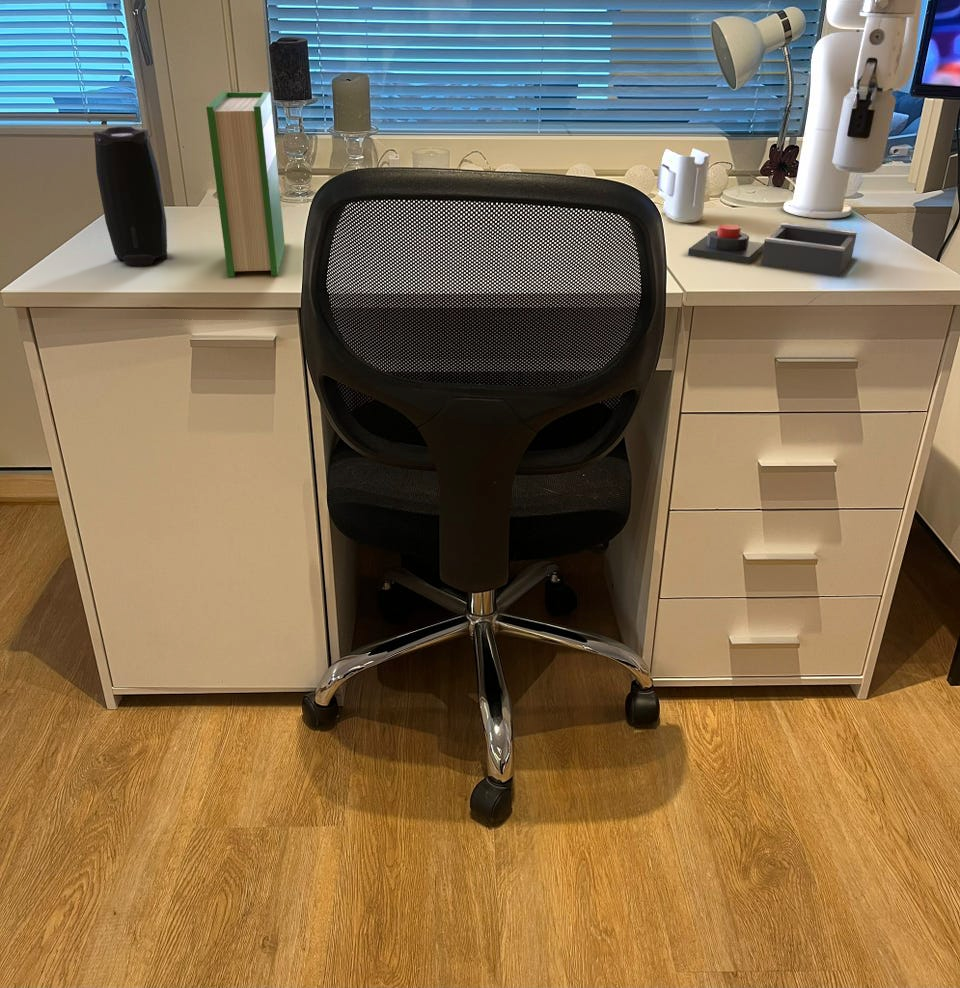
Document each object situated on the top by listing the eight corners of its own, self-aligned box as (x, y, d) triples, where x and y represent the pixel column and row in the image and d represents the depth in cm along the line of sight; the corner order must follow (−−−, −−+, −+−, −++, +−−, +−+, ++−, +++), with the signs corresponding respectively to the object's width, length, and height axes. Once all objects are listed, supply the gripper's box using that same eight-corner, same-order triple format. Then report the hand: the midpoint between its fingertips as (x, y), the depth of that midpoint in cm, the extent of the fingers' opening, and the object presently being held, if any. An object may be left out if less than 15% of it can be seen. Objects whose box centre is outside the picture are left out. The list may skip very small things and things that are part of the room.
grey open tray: (778, 249, 158) (782, 222, 156) (851, 258, 153) (857, 231, 151) (760, 266, 149) (764, 238, 147) (838, 277, 144) (843, 248, 142)
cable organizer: (682, 210, 183) (690, 145, 177) (708, 225, 173) (717, 157, 167) (650, 211, 182) (657, 146, 176) (675, 226, 171) (682, 158, 166)
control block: (705, 242, 162) (707, 225, 160) (763, 250, 158) (766, 232, 156) (687, 255, 154) (689, 237, 153) (748, 264, 150) (750, 245, 149)
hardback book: (277, 275, 142) (260, 106, 130) (228, 276, 141) (206, 107, 130) (284, 245, 157) (270, 91, 146) (240, 246, 157) (221, 92, 145)
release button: (720, 233, 157) (721, 223, 156) (741, 236, 155) (743, 225, 154) (714, 238, 154) (715, 227, 153) (735, 241, 152) (737, 230, 152)
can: (884, 175, 143) (902, 90, 137) (833, 172, 145) (849, 89, 139) (877, 165, 150) (894, 84, 144) (828, 163, 151) (843, 82, 145)
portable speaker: (129, 251, 154) (107, 124, 144) (182, 254, 152) (163, 127, 142) (101, 265, 146) (76, 132, 137) (156, 269, 145) (134, 135, 135)
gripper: (907, 8, 128) (878, 144, 136) (924, 3, 141) (897, 127, 150) (850, 7, 131) (826, 139, 140) (872, 2, 144) (848, 123, 153)
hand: (863, 132), depth 145 cm, fingers closed on can, 7 cm apart
